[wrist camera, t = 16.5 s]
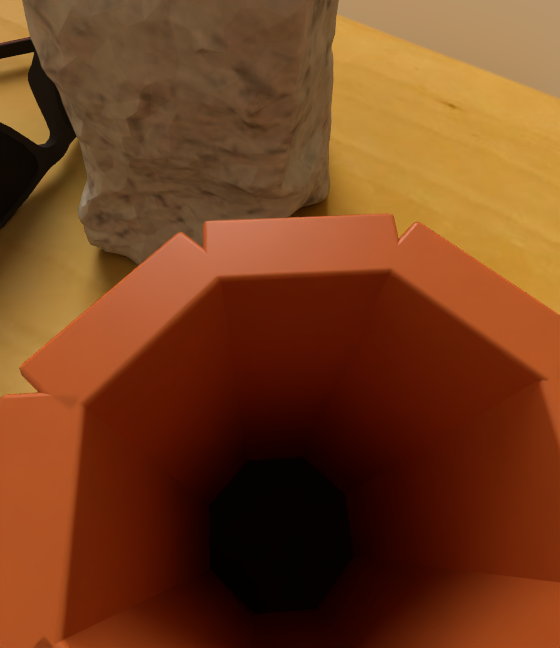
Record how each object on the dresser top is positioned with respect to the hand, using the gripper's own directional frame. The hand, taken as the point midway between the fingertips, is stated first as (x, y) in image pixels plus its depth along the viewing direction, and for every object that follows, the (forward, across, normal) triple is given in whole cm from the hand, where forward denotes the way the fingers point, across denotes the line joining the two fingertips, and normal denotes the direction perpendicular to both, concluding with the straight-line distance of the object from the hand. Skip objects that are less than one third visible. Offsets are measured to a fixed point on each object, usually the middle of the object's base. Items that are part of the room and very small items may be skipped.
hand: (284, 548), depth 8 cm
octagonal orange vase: (+6, 0, +5) cm, 8 cm away
